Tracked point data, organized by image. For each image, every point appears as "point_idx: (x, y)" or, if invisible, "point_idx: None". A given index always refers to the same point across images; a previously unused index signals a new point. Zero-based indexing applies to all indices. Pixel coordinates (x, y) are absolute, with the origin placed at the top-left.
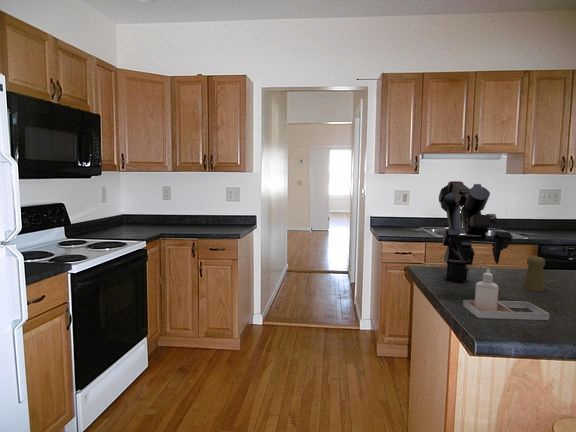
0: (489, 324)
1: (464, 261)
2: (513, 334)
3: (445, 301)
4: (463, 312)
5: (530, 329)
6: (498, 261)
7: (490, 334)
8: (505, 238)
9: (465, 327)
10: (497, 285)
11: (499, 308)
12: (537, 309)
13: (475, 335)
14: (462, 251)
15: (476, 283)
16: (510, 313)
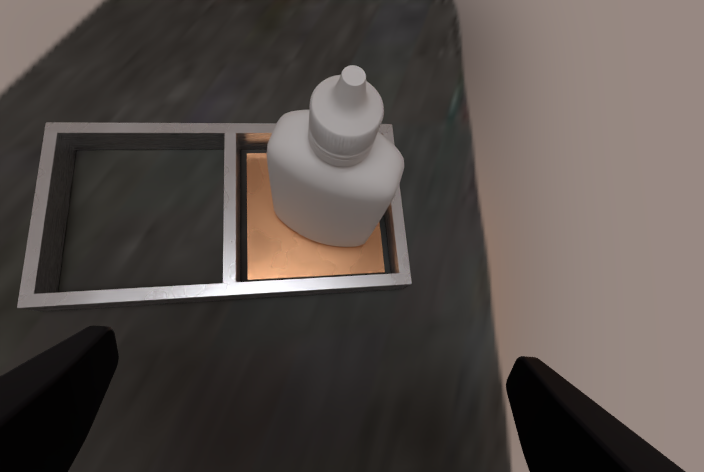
0: None
1: (512, 368)
2: (315, 11)
3: (474, 350)
4: (425, 200)
5: (226, 48)
6: (86, 328)
7: (393, 10)
8: None
9: (458, 57)
10: (278, 125)
11: (239, 245)
12: (52, 201)
13: (443, 4)
14: (632, 460)
15: (398, 181)
16: (247, 126)
